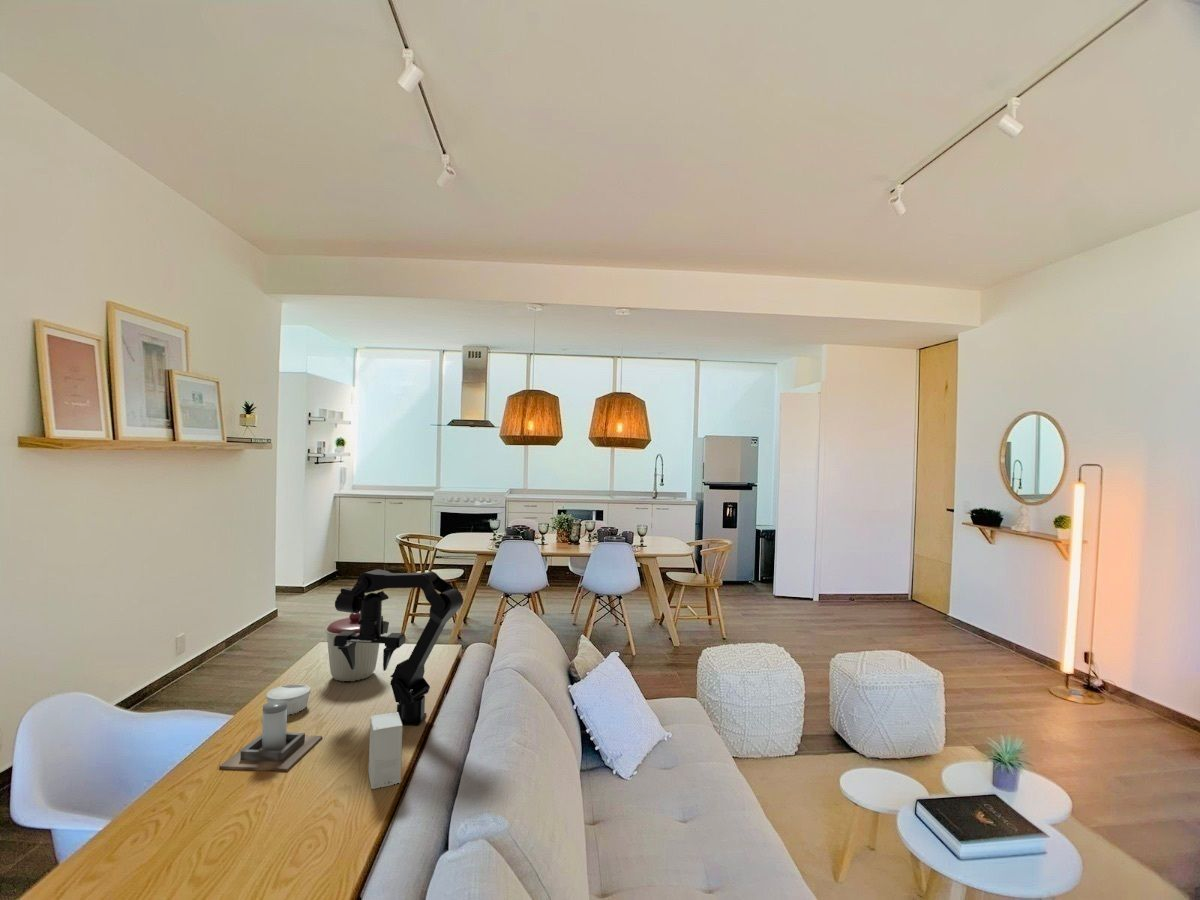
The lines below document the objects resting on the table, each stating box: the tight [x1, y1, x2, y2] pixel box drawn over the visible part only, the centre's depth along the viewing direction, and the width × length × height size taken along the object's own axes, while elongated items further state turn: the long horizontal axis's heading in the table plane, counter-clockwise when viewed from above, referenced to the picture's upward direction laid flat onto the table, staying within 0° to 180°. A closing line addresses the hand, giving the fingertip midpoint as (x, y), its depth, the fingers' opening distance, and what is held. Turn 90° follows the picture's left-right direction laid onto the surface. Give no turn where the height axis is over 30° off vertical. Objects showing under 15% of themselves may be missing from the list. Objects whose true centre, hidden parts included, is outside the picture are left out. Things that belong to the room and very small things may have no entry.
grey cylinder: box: [261, 700, 288, 751], centre depth 142 cm, size 5×5×11 cm
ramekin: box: [265, 683, 312, 716], centre depth 166 cm, size 11×11×5 cm
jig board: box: [218, 731, 323, 772], centre depth 142 cm, size 16×16×3 cm
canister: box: [324, 612, 380, 682], centre depth 192 cm, size 18×18×21 cm
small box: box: [367, 711, 404, 790], centre depth 133 cm, size 8×6×13 cm
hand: (368, 669), depth 166 cm, fingers open, 9 cm apart
